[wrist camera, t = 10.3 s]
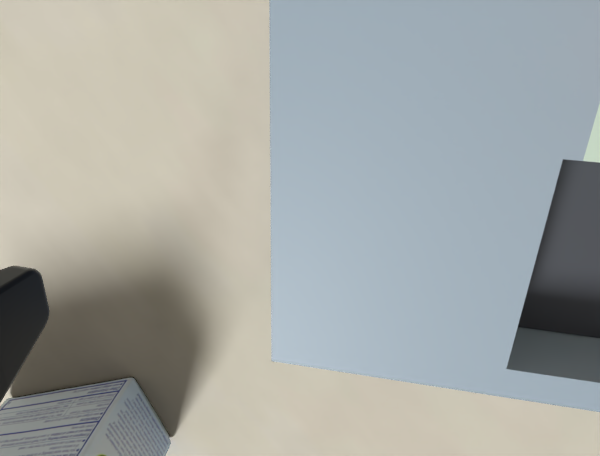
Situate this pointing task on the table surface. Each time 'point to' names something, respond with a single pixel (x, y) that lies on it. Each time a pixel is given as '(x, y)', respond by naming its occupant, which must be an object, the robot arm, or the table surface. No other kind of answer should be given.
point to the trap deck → (438, 193)
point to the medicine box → (83, 423)
